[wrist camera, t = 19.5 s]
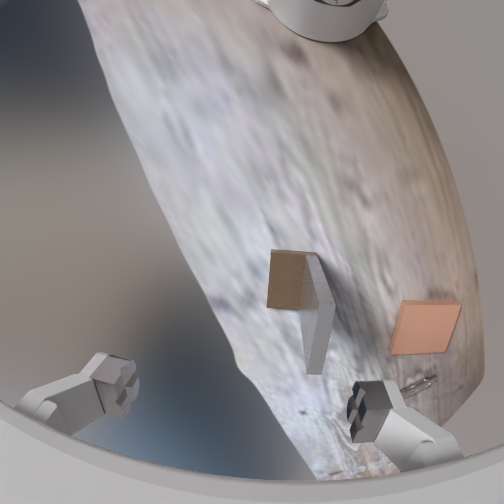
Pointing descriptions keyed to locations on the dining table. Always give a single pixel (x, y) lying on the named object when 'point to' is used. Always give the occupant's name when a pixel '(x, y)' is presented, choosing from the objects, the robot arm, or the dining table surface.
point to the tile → (423, 326)
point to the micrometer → (417, 387)
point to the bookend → (303, 300)
